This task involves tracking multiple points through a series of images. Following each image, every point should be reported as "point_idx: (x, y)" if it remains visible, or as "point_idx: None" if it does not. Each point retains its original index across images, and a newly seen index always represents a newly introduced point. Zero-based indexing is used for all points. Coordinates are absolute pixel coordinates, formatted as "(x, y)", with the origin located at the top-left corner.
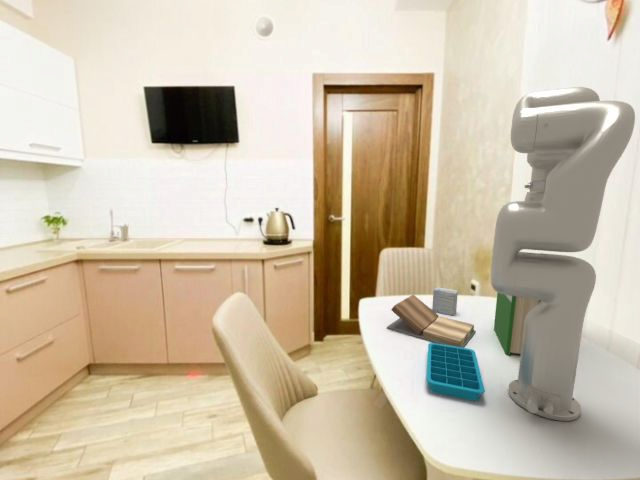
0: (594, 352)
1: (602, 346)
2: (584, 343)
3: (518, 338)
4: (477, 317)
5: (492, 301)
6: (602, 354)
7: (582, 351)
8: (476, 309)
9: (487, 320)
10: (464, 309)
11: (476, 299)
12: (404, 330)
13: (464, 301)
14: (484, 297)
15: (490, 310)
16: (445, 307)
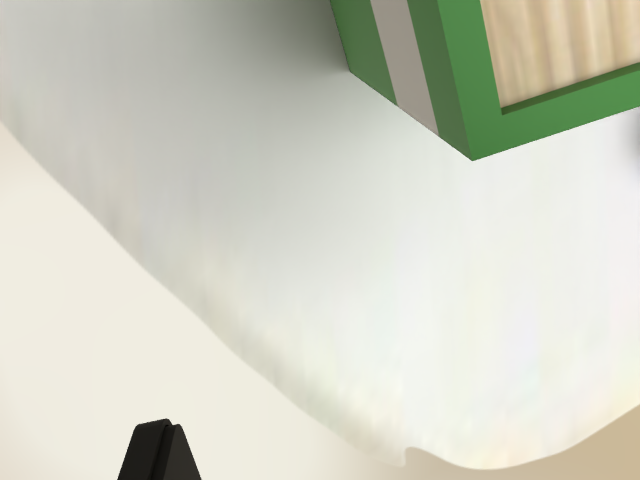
0: (55, 47)
1: (36, 149)
2: (100, 135)
3: None
4: (540, 155)
5: (485, 425)
6: (26, 45)
7: (97, 22)
8: (549, 267)
9: None
10: (603, 229)
11: (554, 407)
12: None
13: (607, 344)
14: (521, 457)
15: (488, 296)
16: None
